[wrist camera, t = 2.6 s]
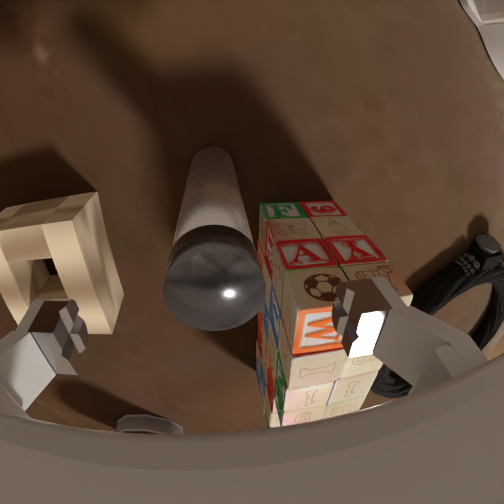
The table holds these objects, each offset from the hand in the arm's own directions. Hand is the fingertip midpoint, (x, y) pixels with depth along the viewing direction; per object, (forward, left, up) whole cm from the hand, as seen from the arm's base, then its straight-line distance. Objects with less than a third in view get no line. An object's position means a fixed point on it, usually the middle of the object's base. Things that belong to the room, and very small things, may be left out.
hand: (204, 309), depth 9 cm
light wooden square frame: (+6, -14, -14) cm, 21 cm away
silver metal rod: (0, 0, -14) cm, 14 cm away
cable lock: (+22, +31, -15) cm, 41 cm away
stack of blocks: (+13, +7, -15) cm, 21 cm away
